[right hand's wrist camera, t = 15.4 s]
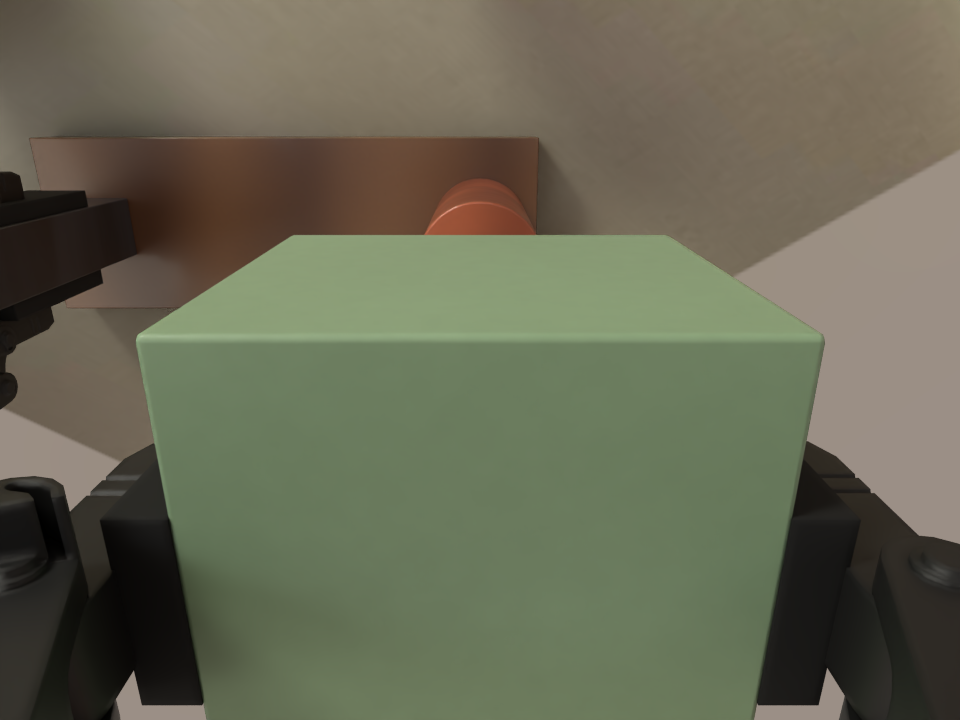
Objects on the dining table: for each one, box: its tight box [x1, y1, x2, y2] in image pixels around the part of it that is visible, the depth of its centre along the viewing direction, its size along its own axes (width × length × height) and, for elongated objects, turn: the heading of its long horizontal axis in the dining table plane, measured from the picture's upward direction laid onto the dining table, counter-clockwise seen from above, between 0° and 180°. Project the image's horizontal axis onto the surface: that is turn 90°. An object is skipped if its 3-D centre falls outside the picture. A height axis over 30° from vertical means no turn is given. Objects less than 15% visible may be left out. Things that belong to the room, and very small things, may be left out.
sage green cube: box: [136, 235, 825, 720], centre depth 11 cm, size 7×7×6 cm
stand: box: [0, 137, 539, 310], centre depth 30 cm, size 26×9×16 cm, turn 90°
